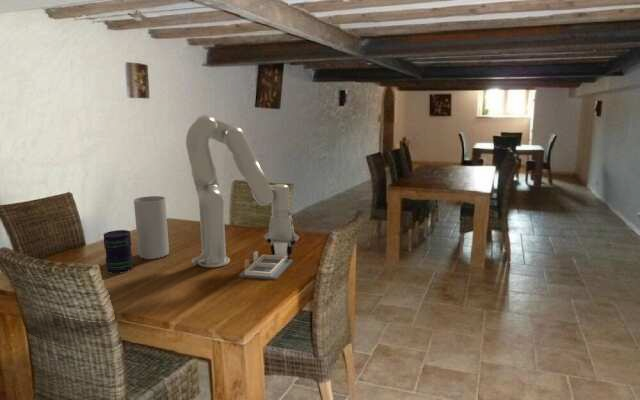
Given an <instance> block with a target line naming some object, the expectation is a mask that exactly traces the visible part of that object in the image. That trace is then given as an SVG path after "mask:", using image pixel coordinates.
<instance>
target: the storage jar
mask: <svg viewBox="0 0 640 400" xmlns="http://www.w3.org/2000/svg"><path fill="white" fill-rule="evenodd" d="M102 237H103V245H104V246H103V247H104V250H105V256H106V257H105V265H106V272H107V271H108V272H111V273H120V272H125V271H128V270H131V269H132V268H133V269H134V266H133V265H134V258H133V254H132V247H131V246H132V238H131V230H130V231H129V230H126V229H119V230H118V229H117V230H111V231H107V232H105V233H103V236H102ZM133 269H132V270H133ZM132 270H131V271H132ZM108 272H107V273H108ZM111 273H110V274H111ZM120 274H121V273H120Z"/></svg>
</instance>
